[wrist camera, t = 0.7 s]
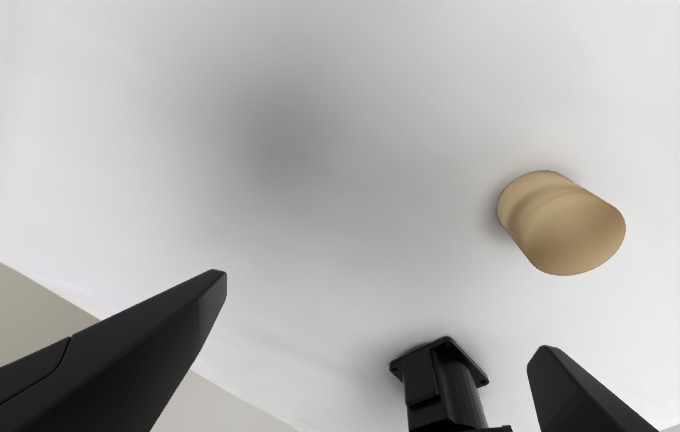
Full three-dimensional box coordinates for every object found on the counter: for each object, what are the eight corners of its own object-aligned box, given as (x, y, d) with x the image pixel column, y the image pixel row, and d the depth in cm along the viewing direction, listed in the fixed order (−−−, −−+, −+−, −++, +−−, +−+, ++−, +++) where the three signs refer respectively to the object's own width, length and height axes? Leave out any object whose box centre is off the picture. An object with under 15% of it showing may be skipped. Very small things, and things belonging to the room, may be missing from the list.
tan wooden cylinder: (586, 209, 19) (640, 247, 15) (518, 246, 21) (550, 288, 17) (553, 155, 18) (602, 181, 14) (482, 199, 20) (508, 233, 16)
